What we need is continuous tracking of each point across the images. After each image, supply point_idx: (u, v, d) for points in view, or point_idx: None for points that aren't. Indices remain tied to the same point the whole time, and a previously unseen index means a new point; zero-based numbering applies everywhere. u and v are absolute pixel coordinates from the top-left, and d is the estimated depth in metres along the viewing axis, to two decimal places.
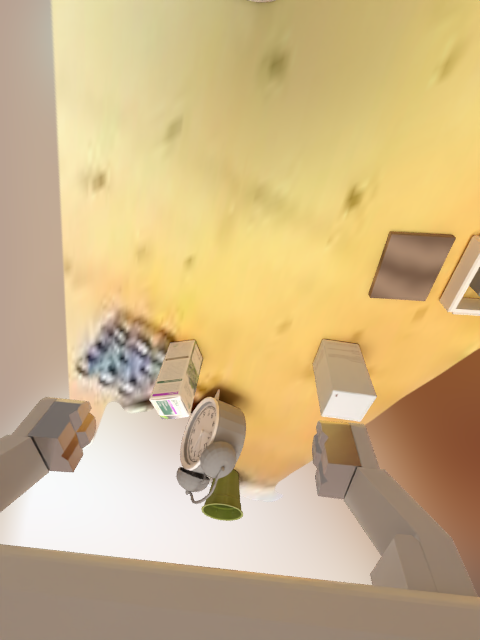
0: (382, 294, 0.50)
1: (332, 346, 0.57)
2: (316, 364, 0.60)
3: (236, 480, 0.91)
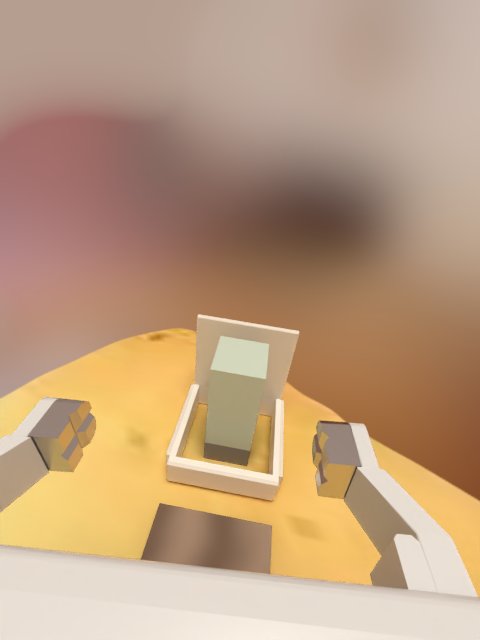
0: None
1: None
2: None
3: None
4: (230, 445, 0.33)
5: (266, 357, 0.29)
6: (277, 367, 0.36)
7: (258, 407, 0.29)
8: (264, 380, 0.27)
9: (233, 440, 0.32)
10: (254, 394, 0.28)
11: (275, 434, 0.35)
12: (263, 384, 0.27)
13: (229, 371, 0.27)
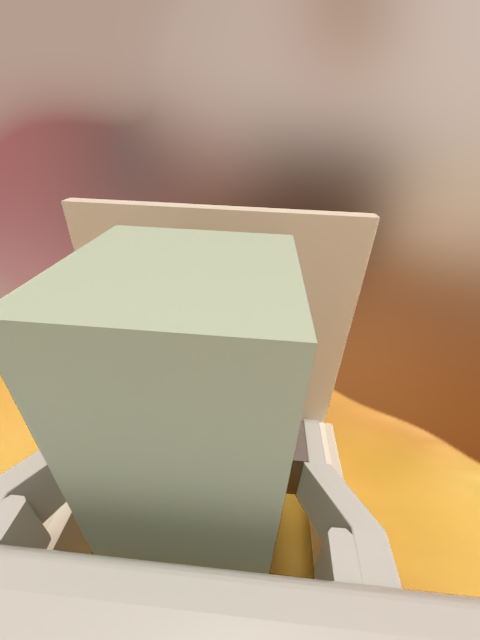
0: None
1: None
2: None
3: None
4: None
5: (293, 263, 0.07)
6: None
7: (280, 493, 0.06)
8: (307, 353, 0.04)
9: None
10: (252, 436, 0.05)
11: None
12: (301, 380, 0.05)
13: (91, 319, 0.04)
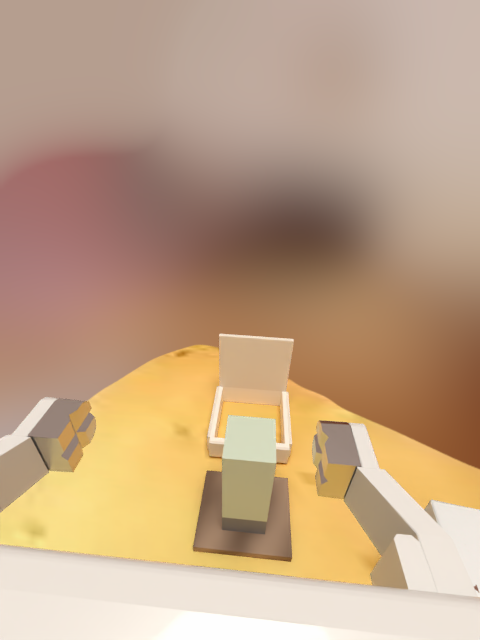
0: (285, 537, 0.35)
1: None
2: None
3: None
4: (247, 518, 0.34)
5: (274, 436, 0.30)
6: (280, 367, 0.48)
7: (271, 486, 0.30)
8: (275, 464, 0.28)
9: (250, 514, 0.33)
10: (266, 475, 0.29)
11: (284, 416, 0.47)
12: (274, 467, 0.28)
13: (240, 458, 0.28)
